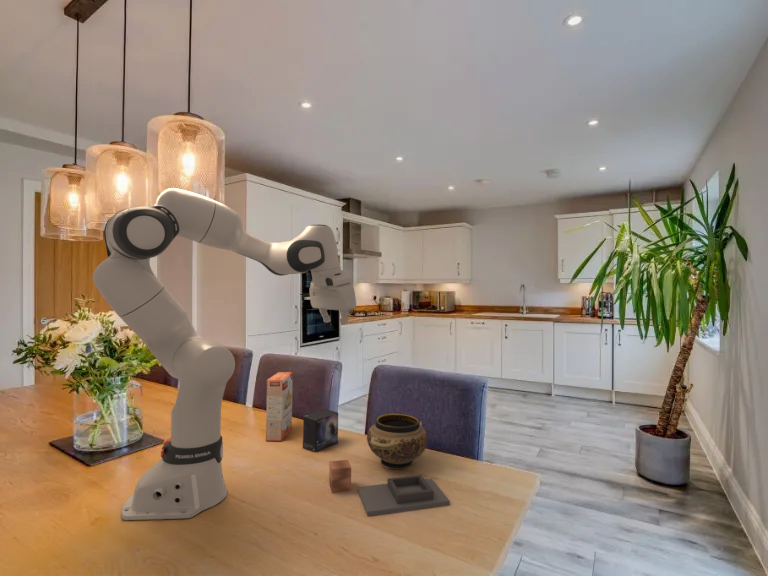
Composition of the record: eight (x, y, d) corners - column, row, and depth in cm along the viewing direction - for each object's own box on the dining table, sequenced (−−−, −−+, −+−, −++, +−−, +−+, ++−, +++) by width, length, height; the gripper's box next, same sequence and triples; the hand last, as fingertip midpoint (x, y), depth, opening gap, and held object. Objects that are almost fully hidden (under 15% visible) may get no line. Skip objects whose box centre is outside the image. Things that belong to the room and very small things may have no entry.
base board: (367, 516, 92) (367, 502, 92) (357, 490, 104) (357, 479, 104) (449, 504, 97) (449, 492, 97) (431, 482, 109) (431, 470, 109)
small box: (315, 453, 128) (316, 419, 128) (301, 448, 132) (301, 415, 132) (339, 443, 137) (339, 411, 137) (325, 439, 141) (325, 408, 141)
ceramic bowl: (393, 495, 107) (405, 443, 105) (342, 463, 117) (353, 414, 115) (435, 463, 127) (446, 418, 126) (389, 438, 137) (399, 396, 135)
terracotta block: (331, 493, 103) (331, 469, 103) (329, 484, 108) (329, 461, 108) (351, 491, 104) (351, 467, 104) (348, 482, 109) (348, 459, 109)
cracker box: (283, 441, 138) (283, 379, 138) (265, 441, 138) (265, 379, 138) (293, 428, 152) (293, 371, 152) (277, 427, 152) (277, 371, 152)
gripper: (301, 281, 129) (309, 323, 130) (337, 280, 113) (346, 328, 115) (318, 277, 132) (326, 318, 134) (355, 275, 117) (363, 322, 119)
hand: (335, 323), depth 124 cm, fingers open, 8 cm apart
